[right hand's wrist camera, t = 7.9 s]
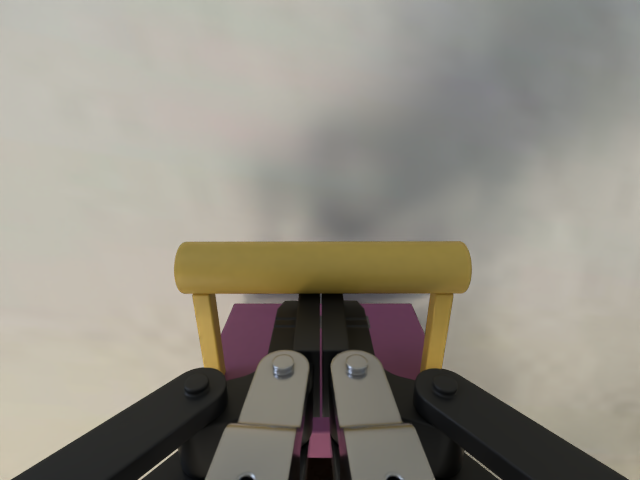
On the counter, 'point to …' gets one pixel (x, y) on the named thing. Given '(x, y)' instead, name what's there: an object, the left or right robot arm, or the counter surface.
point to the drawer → (321, 278)
